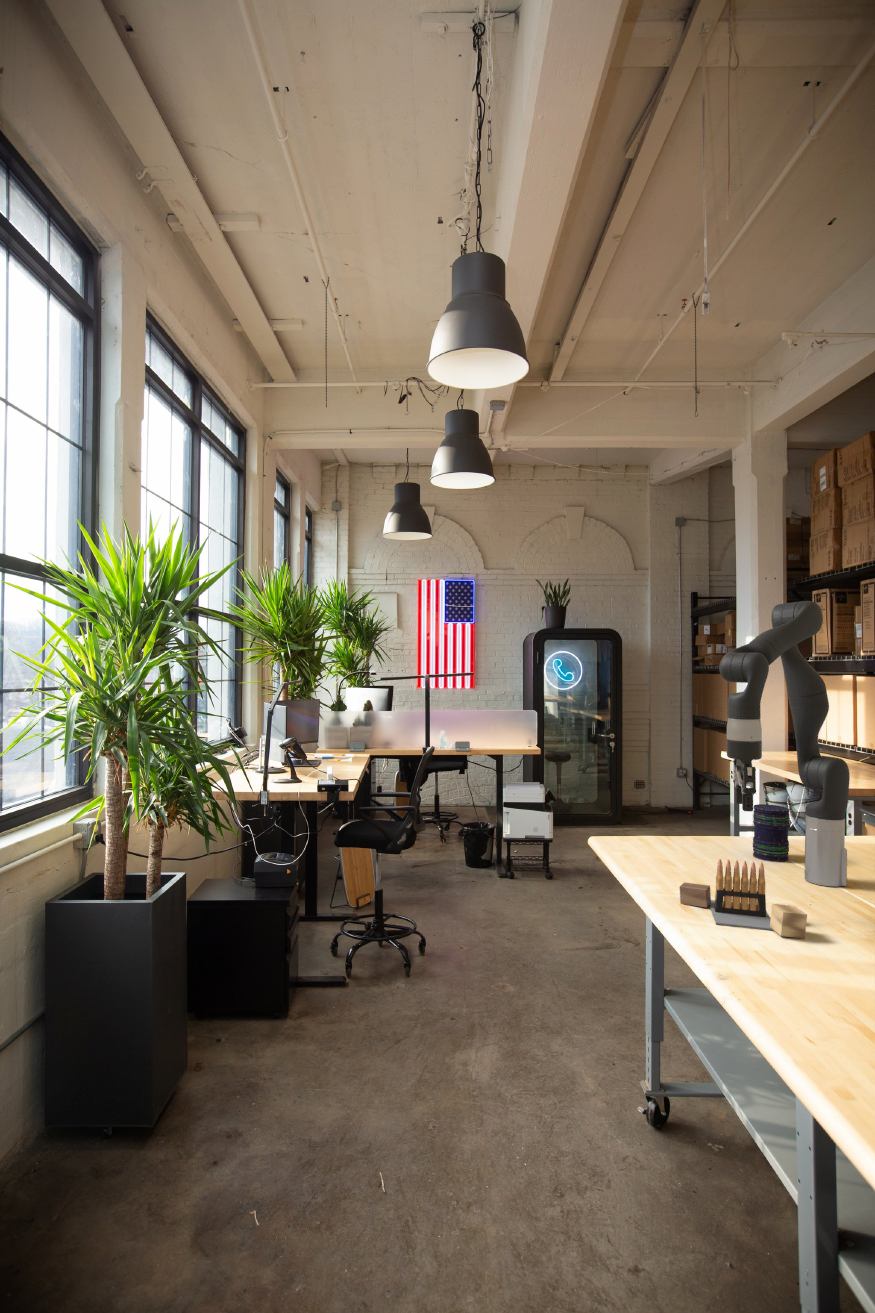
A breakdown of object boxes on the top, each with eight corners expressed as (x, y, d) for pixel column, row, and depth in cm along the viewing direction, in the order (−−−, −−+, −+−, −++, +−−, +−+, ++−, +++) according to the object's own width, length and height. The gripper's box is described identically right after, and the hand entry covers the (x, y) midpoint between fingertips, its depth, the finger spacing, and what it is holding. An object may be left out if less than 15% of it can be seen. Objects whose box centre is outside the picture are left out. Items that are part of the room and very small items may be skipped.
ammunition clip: (764, 914, 160) (765, 861, 160) (766, 917, 158) (767, 863, 158) (714, 909, 163) (715, 857, 163) (715, 912, 161) (716, 859, 161)
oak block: (792, 929, 152) (795, 906, 152) (804, 938, 147) (807, 914, 147) (769, 926, 152) (772, 903, 152) (780, 936, 147) (783, 912, 147)
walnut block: (685, 899, 171) (684, 882, 171) (710, 902, 167) (710, 885, 168) (680, 903, 167) (679, 886, 168) (706, 907, 164) (705, 890, 164)
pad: (761, 906, 167) (761, 905, 167) (775, 931, 151) (776, 929, 151) (707, 901, 170) (707, 899, 170) (716, 924, 154) (716, 922, 154)
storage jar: (745, 855, 214) (745, 805, 214) (768, 852, 218) (768, 803, 218) (773, 863, 204) (773, 812, 205) (796, 860, 209) (797, 809, 209)
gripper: (768, 741, 157) (768, 814, 157) (755, 735, 171) (755, 802, 171) (731, 741, 159) (732, 813, 159) (722, 734, 173) (722, 800, 173)
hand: (744, 807), depth 165 cm, fingers open, 8 cm apart
